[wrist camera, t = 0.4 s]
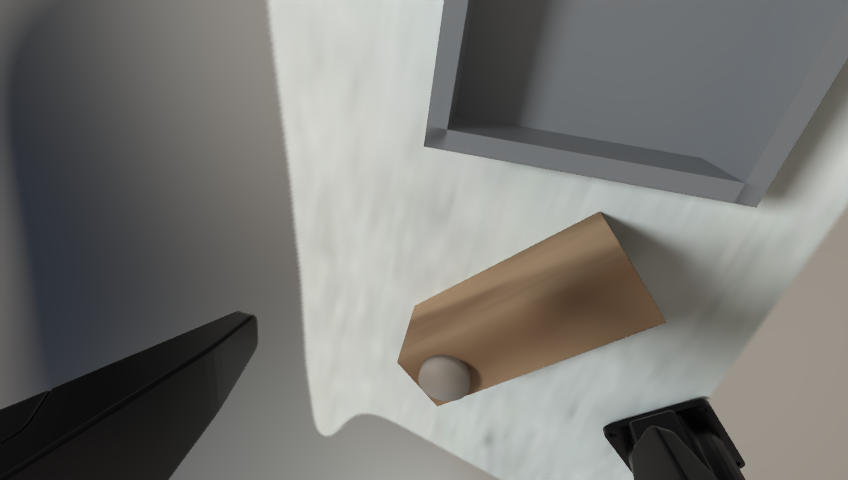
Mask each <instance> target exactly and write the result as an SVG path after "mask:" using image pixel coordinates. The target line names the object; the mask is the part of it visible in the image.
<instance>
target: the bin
mask: <svg viewBox="0 0 848 480" xmlns="http://www.w3.org/2000/svg"><path fill="white" fill-rule="evenodd" d="M847 59H848V0H444V6H443V13H442V20H441V27H440V34H439V42H438V49H437V56H436V63H435V70H434V78H433V85H432V92H431V99H430V106H429V114H428V121H427V128H426V135H425V142H424V146H425V147H431V148H436V149H441V150H447V151H452V152H458V153H463V154H469V155H474V156H479V157H485V158H490V159H496V160H501V161H507V162H512V163H518V164H523V165H528V166H534V167H539V168H545V169H550V170H556V171H561V172H567V173H572V174H577V175H583V176H588V177H594V178H599V179H605V180H610V181H615V182H621V183H626V184H632V185H637V186H643V187H648V188H654V189H659V190H664V191H670V192H675V193H681V194H686V195H692V196H697V197H702V198H708V199H713V200H719V201H724V202H730V203H735V204H741V205H746V206H751V207H757V206H758V204H759V202H760V201H761V199H762V197H763V196H764V194H765V193H766V191H767V189H768V188H769V186H770V184H771V183H772V181H773V179H774V178H775V176H776V175H777V173H778V171H779V170H780V168H781V166H782V165H783V163H784V161H785V160H786V158H787V157H788V155H789V153H790V152H791V150H792V148H793V147H794V145H795V144H796V142H797V140H798V139H799V137H800V135H801V134H802V132H803V130H804V129H805V127H806V126H807V124H808V122H809V121H810V119H811V117H812V116H813V114H814V112H815V111H816V109H817V108H818V106H819V104H820V103H821V101H822V99H823V98H824V96H825V95H826V93H827V91H828V90H829V88H830V86H831V85H832V83H833V81H834V80H835V78H836V77H837V75H838V73H839V72H840V70H841V68H842V67H843V65H844V64H845V62H846V60H847Z"/></svg>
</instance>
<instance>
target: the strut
mask: <svg viewBox="0 0 848 480" xmlns="http://www.w3.org/2000/svg"><path fill="white" fill-rule="evenodd" d="M663 323H666V321H665V319H664V318H663V316H662V314H661V313H660V311H659V309H658V308H657V306H656V304H655V302H654V301H653V299H652V297H651V296H650V294H649V292H648V291H647V289H646V287H645V285H644V284H643V282H642V280H641V279H640V277H639V275H638V273H637V272H636V270H635V268H634V267H633V265H632V263H631V262H630V260H629V258H628V257H627V255H626V253H625V252H624V250H623V248H622V247H621V245H620V243H619V242H618V240H617V239H616V237H615V235H614V234H613V232H612V230H611V229H610V227H609V225H608V224H607V222H606V221H605V219H604V217H603V216H602V214H601V212H598V213H596V214H594V215H592V216H590V217H588V218H586V219H584V220H582V221H580V222H578V223H576V224H574V225H573V226H571V227H569V228H567V229H565V230H563V231H561V232H559V233H557V234H555V235H553V236H551V237H549V238H547V239H545V240H543V241H541V242H539V243H537V244H535V245H533V246H531V247H529V248H527V249H525V250H524V251H522V252H520V253H518V254H516V255H514V256H512V257H510V258H508V259H506V260H504V261H502V262H500V263H498V264H496V265H494V266H492V267H490V268H488V269H486V270H484V271H482V272H480V273H478V274H476V275H475V276H473V277H471V278H469V279H467V280H465V281H463V282H461V283H459V284H457V285H455V286H453V287H451V288H449V289H447V290H445V291H443V292H441V293H439V294H437V295H435V296H433V297H431V298H429V299H428V300H426V301H424V302H422V303H420V304H418V305H416V306H415V307H414V310H413V313H412V316H411V320H410V323H409V326H408V329H407V333H406V336H405V339H404V342H403V345H402V349H401V352H400V355H399V358H398V362H397V363H398V364H399V365H400V366H401V367H402V368H403V369H404V370H405V371H406V372H407V374H408V375H409V376H410V377H411V378H412V379H413V380H414V381H415V382H416V383H417V385H418V386H419V387H420V388H421V389H422V390H423V391H424V392H425V393H426V394H427V395H428V397H429V398H430V399H431V400H432V401H433V402H434V403H435V404H436V405H437V406H439V405H442V404H445V403H448V402H450V401H455V400H458V399H461V398H462V397H464V396H467V395H469V394H472V393H475V392H478V391H480V390H483V389H486V388H488V387H491V386H494V385H497V384H499V383H502V382H505V381H508V380H510V379H513V378H516V377H518V376H521V375H524V374H527V373H529V372H532V371H535V370H538V369H540V368H543V367H546V366H548V365H551V364H554V363H557V362H559V361H562V360H565V359H568V358H570V357H573V356H576V355H578V354H581V353H584V352H587V351H589V350H592V349H595V348H598V347H600V346H603V345H606V344H608V343H611V342H614V341H617V340H619V339H622V338H625V337H628V336H630V335H633V334H636V333H638V332H641V331H644V330H647V329H649V328H652V327H655V326H658V325H660V324H663Z"/></svg>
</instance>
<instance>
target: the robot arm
mask: <svg viewBox="0 0 848 480" xmlns="http://www.w3.org/2000/svg"><path fill="white" fill-rule="evenodd" d="M257 345H258V324H257V317H256V316H255V315H254V314H251V313H247V312H243V311H237V312H234V313H231V314H229V315H227V316H224V317H222V318H220V319H217V320H215V321H212V322H210V323H207V324H205V325H203V326H200V327H198V328H195V329H193V330H191V331H188V332H186V333H183V334H181V335H179V336H176V337H174V338H172V339H169V340H167V341H164V342H162V343H159V344H157V345H155V346H152V347H150V348H147V349H145V350H143V351H140V352H138V353H135V354H133V355H131V356H128V357H126V358H123V359H121V360H119V361H116V362H114V363H112V364H109V365H107V366H104V367H102V368H100V369H97V370H95V371H92V372H90V373H87V374H85V375H83V376H80V377H78V378H75V379H73V380H71V381H68V382H66V383H64V384H61V385H59V386H56V387H54V388H52V389H51V391H44V392H41V393H39V394H37V395H34V396H32V397H30V398H27V399H25V400H22V401H20V402H17V403H15V404H12V405H10V406H8V407H5V408H3V409H0V480H169V478H170V477H171V476H172V474H173V473H174V472H175V470H176V469H177V468H178V466H179V465H180V463H181V462H182V461H183V459H184V458H185V457H186V455H187V454H188V452H189V451H190V450H191V449H192V447H193V446H194V444H195V443H196V442H197V440H198V439H199V438H200V436H201V435H202V434H203V432H204V431H205V430H206V428H207V427H208V426H209V424H210V423H211V421H212V420H213V419H214V417H215V416H216V414H217V413H218V412H219V410H220V409H221V407H222V405H223V404H224V402H225V401H226V399H227V397H228V396H229V394H230V392H231V391H232V389H233V387H234V386H235V384H236V382H237V380H238V379H239V377H240V376H241V373H242V372H243V371H244V369H245V367H246V365H247V363H248V362H249V360H250V359H251V357H252V355H253V354H254V352H255V350H256V348H257ZM603 431H604V435H605V437H606V439H607V440H608V441H609V442H610V444H611V445H612V446H613V448H614V449H615V450H616V452H617V453H618V454H619V456H620V457H621V458H622V460H623V461H624V462H625V464H626V465H627V466H628V468H629V469H630V470H631V472H632V473H633V476H634V480H745V478H744V476H743V475H742V473H741V471H740V468H742V467H744V465H745V462H744V461H743V459H742V457H741V456H740V454H739V452H738V450H737V449H736V447H735V445H734V444H733V442H732V441H731V439H730V437H729V436H728V434H727V432H726V431H725V429H724V427H723V426H722V424H721V422H720V421H719V419H718V417H717V416H716V414H715V412H714V411H713V409H712V407H711V406H710V404H709V402H708V401H706V400H704V399H698V400H694V401H690V402H687V403H683V404H680V405H676V406H673V407H669V408H666V409H662V410H658V411H655V412H651V413H648V414H644V415H641V416H637V417H634V418H630V419H627V420H623V421H620V422H616V423H613V424H609V425H606V426H605V427H604V428H603Z"/></svg>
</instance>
